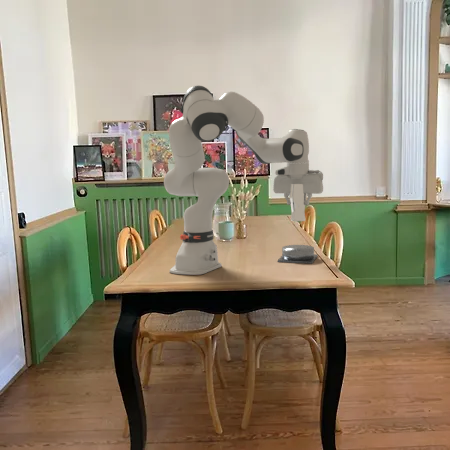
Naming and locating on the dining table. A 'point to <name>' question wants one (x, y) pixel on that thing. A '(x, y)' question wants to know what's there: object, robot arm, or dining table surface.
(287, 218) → the dining table surface
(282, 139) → the robot arm
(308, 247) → the duct stub
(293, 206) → the pale grey rectangular box
